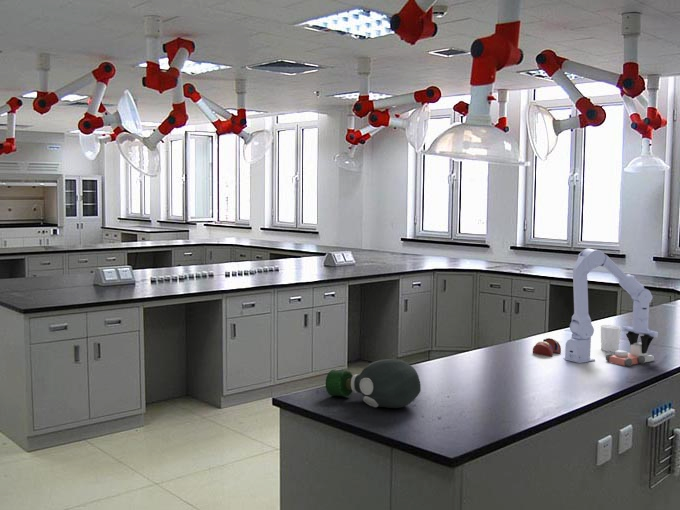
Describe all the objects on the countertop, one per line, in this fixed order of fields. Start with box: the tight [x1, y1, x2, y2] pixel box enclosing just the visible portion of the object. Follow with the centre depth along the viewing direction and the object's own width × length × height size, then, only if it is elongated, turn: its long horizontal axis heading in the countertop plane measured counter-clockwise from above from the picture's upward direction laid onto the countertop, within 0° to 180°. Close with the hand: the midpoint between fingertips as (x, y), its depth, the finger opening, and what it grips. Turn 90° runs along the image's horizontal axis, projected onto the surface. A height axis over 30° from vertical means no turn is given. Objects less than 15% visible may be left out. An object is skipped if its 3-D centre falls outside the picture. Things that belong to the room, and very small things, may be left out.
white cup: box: [600, 324, 622, 353], centre depth 290 cm, size 8×8×10 cm
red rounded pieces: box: [532, 337, 562, 357], centre depth 283 cm, size 8×6×12 cm
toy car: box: [605, 349, 655, 367], centre depth 270 cm, size 18×10×4 cm, turn 122°
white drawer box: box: [629, 341, 648, 356], centre depth 273 cm, size 5×4×6 cm
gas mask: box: [325, 358, 422, 409], centre depth 213 cm, size 14×18×30 cm
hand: (639, 352), depth 273 cm, fingers closed on white drawer box, 4 cm apart
